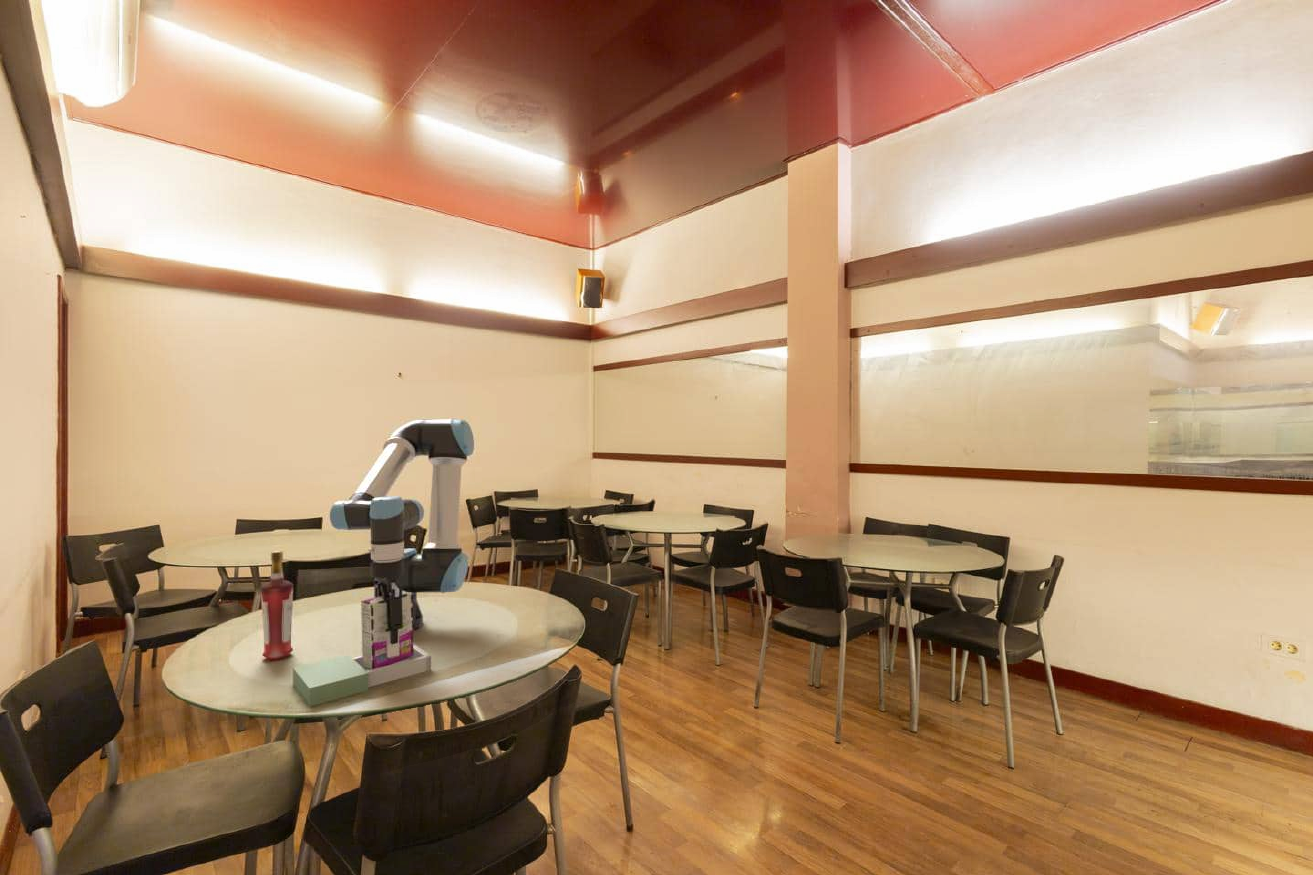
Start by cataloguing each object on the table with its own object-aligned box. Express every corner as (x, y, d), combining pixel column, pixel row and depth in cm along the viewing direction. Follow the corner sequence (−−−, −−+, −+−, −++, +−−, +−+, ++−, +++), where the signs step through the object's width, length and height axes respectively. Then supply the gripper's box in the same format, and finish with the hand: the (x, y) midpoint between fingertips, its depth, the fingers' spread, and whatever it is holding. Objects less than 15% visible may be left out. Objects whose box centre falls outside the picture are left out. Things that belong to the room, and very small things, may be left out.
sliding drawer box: (293, 684, 140) (292, 667, 140) (410, 654, 158) (409, 639, 158) (309, 706, 128) (309, 688, 128) (434, 672, 147) (433, 655, 147)
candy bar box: (402, 652, 153) (401, 589, 153) (414, 656, 150) (413, 592, 150) (360, 667, 144) (360, 599, 143) (372, 671, 141) (372, 603, 141)
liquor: (264, 654, 159) (263, 550, 159) (296, 650, 162) (295, 548, 162) (258, 663, 153) (257, 555, 153) (291, 659, 156) (290, 553, 156)
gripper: (359, 556, 151) (360, 646, 151) (384, 567, 137) (385, 667, 137) (390, 551, 156) (390, 639, 156) (417, 562, 142) (418, 658, 143)
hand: (388, 652), depth 147 cm, fingers closed on candy bar box, 6 cm apart
